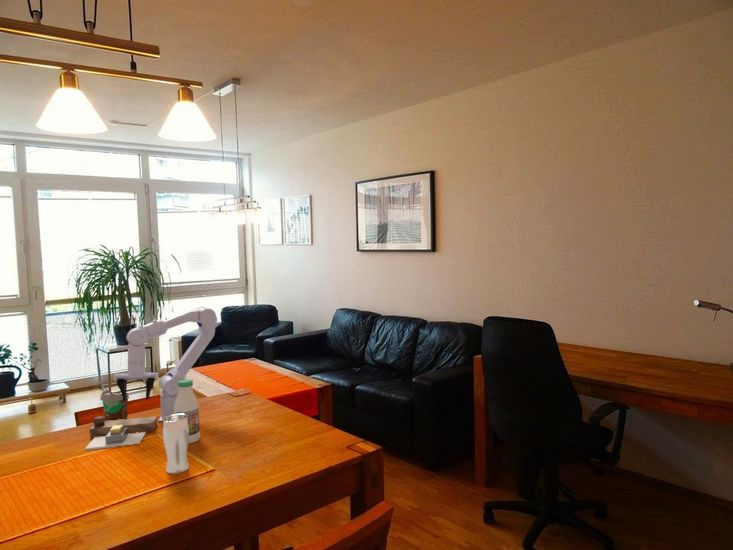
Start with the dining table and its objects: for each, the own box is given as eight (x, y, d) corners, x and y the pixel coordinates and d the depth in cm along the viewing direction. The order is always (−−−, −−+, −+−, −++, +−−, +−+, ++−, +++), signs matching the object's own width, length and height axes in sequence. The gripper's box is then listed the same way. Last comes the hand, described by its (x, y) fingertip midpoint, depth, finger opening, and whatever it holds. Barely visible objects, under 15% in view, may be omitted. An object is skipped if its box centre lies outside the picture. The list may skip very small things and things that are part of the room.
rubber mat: (146, 433, 167) (146, 431, 167) (139, 444, 158) (139, 442, 158) (95, 438, 164) (95, 436, 164) (85, 450, 154) (85, 448, 154)
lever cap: (127, 434, 165) (127, 423, 165) (122, 442, 158) (121, 430, 158) (111, 436, 164) (111, 424, 164) (105, 444, 157) (105, 432, 157)
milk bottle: (169, 443, 158) (167, 382, 157) (187, 435, 165) (184, 376, 164) (188, 446, 155) (185, 384, 154) (205, 437, 162) (202, 378, 161)
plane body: (157, 424, 176) (156, 409, 176) (153, 431, 169) (152, 415, 169) (96, 430, 172) (95, 415, 171) (90, 437, 165) (89, 421, 165)
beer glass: (165, 476, 134) (163, 423, 133) (163, 467, 140) (161, 416, 140) (192, 471, 137) (189, 418, 137) (188, 461, 143) (186, 411, 143)
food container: (94, 419, 184) (92, 393, 183) (109, 414, 189) (108, 389, 188) (115, 424, 178) (113, 397, 177) (130, 419, 183) (128, 392, 183)
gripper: (111, 364, 170) (111, 403, 171) (155, 363, 174) (155, 401, 174) (117, 360, 177) (116, 397, 178) (159, 359, 181) (159, 395, 181)
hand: (136, 399), depth 176 cm, fingers open, 7 cm apart
